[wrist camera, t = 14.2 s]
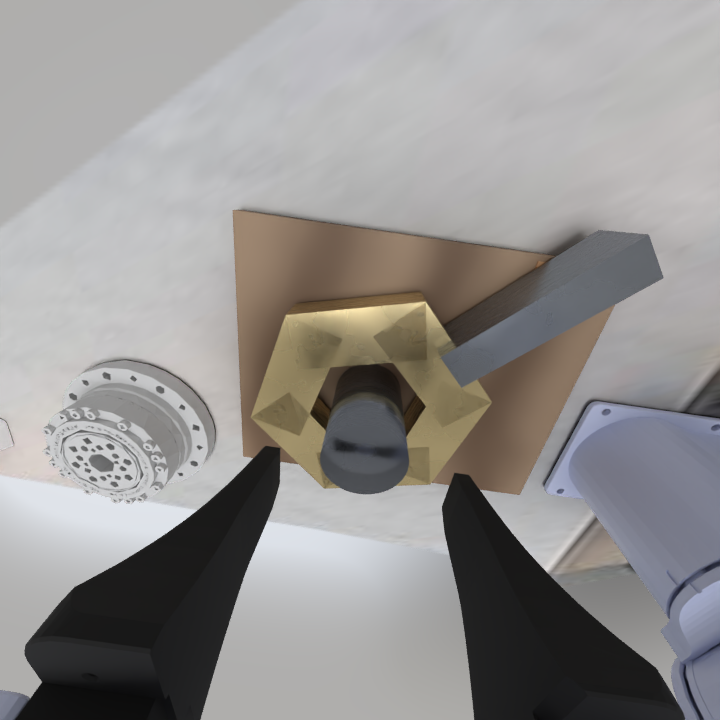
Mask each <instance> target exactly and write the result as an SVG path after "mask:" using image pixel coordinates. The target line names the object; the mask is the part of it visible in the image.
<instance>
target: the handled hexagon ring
mask: <svg viewBox="0 0 720 720" xmlns="http://www.w3.org/2000/svg"><path fill="white" fill-rule="evenodd" d="M661 279H663V275H662V272H661V269H660V266H659V263H658V260H657V257H656V254H655V252H654V249H653V246H652V243H651V240H650V237H649V235H647V234H636V233H625V232H614V231H603V230H598V231H596V232H595V233H593V234H592V235H590V236H588V237H587V238H585V239H584V240H582V241H580V242H579V243H577V244H575V245H574V246H572V247H571V248H569V249H567V250H566V251H564V252H563V253H561V254H559V255H558V256H556V257H555V258H553V259H551V260H550V261H548V262H547V263H545V264H543V265H542V266H540V267H538V268H537V269H535V270H534V271H532V272H530V273H529V274H527V275H526V276H524V277H522V278H521V279H519V280H518V281H516V282H514V283H513V284H511V285H509V286H508V287H506V288H505V289H503V290H501V291H500V292H498V293H497V294H495V295H493V296H492V297H490V298H489V299H487V300H485V301H484V302H482V303H481V304H479V305H477V306H476V307H474V308H472V309H471V310H469V311H468V312H466V313H464V314H463V315H461V316H460V317H458V318H456V319H455V320H453V321H452V322H450V323H448V324H447V325H445V326H443V325H442V323H441V322H440V320H439V319H438V317H437V316H436V314H435V313H434V311H433V310H432V308H431V307H430V305H429V303H428V302H427V300H426V299H425V297H424V296H423V294H422V293H421V292H411V293H401V294H391V295H381V296H370V297H360V298H350V299H340V300H330V301H319V302H309V303H299V304H295V305H294V306H293V307H292V308H291V310H290V311H289V312H288V313H287V314H286V315H285V318H284V321H283V324H282V327H281V330H280V333H279V336H278V339H277V342H276V345H275V348H274V351H273V354H272V356H271V359H270V362H269V365H268V368H267V371H266V374H265V377H264V380H263V383H262V386H261V389H260V392H259V394H258V397H257V400H256V403H255V406H254V409H253V412H252V415H251V418H252V419H253V420H254V421H255V422H256V423H257V424H258V425H259V426H260V427H261V428H262V429H263V430H264V431H265V432H266V433H267V434H268V435H269V436H270V437H271V438H272V439H273V440H274V441H275V442H277V443H278V444H279V445H280V446H281V447H282V448H283V449H284V450H285V451H286V452H287V453H288V454H289V455H290V456H291V457H292V458H293V459H294V460H295V461H296V462H297V463H298V464H299V465H300V466H301V467H302V468H303V469H305V470H306V471H307V472H308V473H309V474H310V475H311V476H312V477H313V478H314V479H315V480H316V481H317V482H318V483H319V484H320V485H321V486H322V487H323V488H340V487H338V486H336V485H335V484H334V483H332V482H331V481H330V480H329V479H328V478H327V477H326V475H325V474H324V472H323V470H322V468H321V464H320V454H321V450H322V445H323V441H324V437H325V432H326V428H327V424H328V420H329V415H330V410H329V409H328V407H327V406H326V405H325V404H324V403H323V402H322V401H321V400H320V399H319V398H318V394H319V392H320V389H321V387H322V385H323V383H324V380H325V378H326V376H327V374H328V371H329V369H330V367H342V366H355V365H368V364H381V363H393V364H394V365H395V366H396V368H397V369H398V370H399V371H400V373H401V374H402V375H403V377H404V378H405V379H406V381H407V382H408V383H409V385H410V386H411V387H412V389H413V390H414V391H415V393H416V394H417V396H416V397H415V399H414V401H413V402H412V404H411V406H410V407H409V409H408V410H407V412H406V414H405V415H404V422H405V430H406V438H407V446H408V454H409V468H408V471H407V473H406V475H405V477H404V478H403V479H402V480H401V482H399V483H398V484H397V485H396V486H402V485H428V484H431V483H432V481H433V480H434V479H435V477H436V476H437V475H438V473H439V472H440V471H441V469H442V468H443V467H444V465H445V464H446V463H447V461H448V460H449V459H450V457H451V456H452V455H453V453H454V452H455V451H456V450H457V448H458V447H459V446H460V444H461V443H462V442H463V440H464V439H465V438H466V436H467V435H468V434H469V432H470V431H471V430H472V428H473V427H474V426H475V424H476V423H477V422H478V420H479V419H480V418H481V416H482V415H483V414H484V413H485V411H486V410H487V409H488V407H489V406H490V405H491V403H492V401H491V400H490V398H489V396H488V394H487V393H486V391H485V389H484V388H483V386H482V384H481V383H480V381H479V380H478V379H479V378H481V377H483V376H484V375H486V374H488V373H490V372H492V371H494V370H495V369H497V368H499V367H501V366H503V365H505V364H507V363H508V362H510V361H512V360H514V359H516V358H518V357H519V356H521V355H523V354H525V353H527V352H529V351H530V350H532V349H534V348H536V347H538V346H540V345H541V344H543V343H545V342H547V341H549V340H551V339H552V338H554V337H556V336H558V335H560V334H562V333H563V332H565V331H567V330H569V329H571V328H573V327H574V326H576V325H578V324H580V323H582V322H584V321H585V320H587V319H589V318H591V317H593V316H595V315H596V314H598V313H600V312H602V311H604V310H606V309H607V308H609V307H611V306H613V305H615V304H617V303H619V302H620V301H622V300H624V299H626V298H628V297H630V296H631V295H633V294H635V293H637V292H639V291H641V290H642V289H644V288H646V287H648V286H650V285H652V284H653V283H655V282H657V281H659V280H661Z"/></svg>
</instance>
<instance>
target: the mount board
mask: <svg viewBox="0 0 720 720" xmlns="http://www.w3.org/2000/svg"><path fill="white" fill-rule="evenodd" d="M233 227H234V250H235V274H236V297H237V320H238V344H239V367H240V390H241V414H242V437H243V456H244V457H251V458H254V457H255V456H256V455H257V454H258V453H259V452H260V450H261V449H262V448H263V447H265V446H271V447H278V448H280V462H287V463H294V464H298V463H297V462H296V461H295V460H294V459H293V458H292V457H291V456H290V455H289V454H288V453H287V452H286V451H285V450H284V449H283V448H282V447H281V446H280V445H279V444H278V443H277V442H275V441H274V440H273V439H272V438H271V437H270V436H269V435H268V434H267V433H266V432H265V431H264V430H263V429H262V428H261V427H260V426H259V425H258V424H257V423H256V422H255V421H254V420H253V419H252V418H251V415H252V412H253V409H254V406H255V403H256V400H257V397H258V394H259V392H260V389H261V386H262V383H263V380H264V377H265V374H266V371H267V368H268V365H269V362H270V359H271V356H272V354H273V351H274V348H275V345H276V342H277V339H278V336H279V333H280V330H281V327H282V324H283V321H284V318H285V315H286V314H287V313H288V312H289V311H290V310H291V308H292V307H293V306H294V305H295V304H299V303H309V302H319V301H330V300H340V299H350V298H360V297H370V296H381V295H391V294H401V293H411V292H421V293H422V294H423V296H424V297H425V299H426V300H427V302H428V303H429V305H430V307H431V308H432V310H433V311H434V313H435V314H436V316H437V317H438V319H439V320H440V322H441V323H442V325H443V326H445V325H447V324H448V323H450V322H452V321H453V320H455V319H456V318H458V317H460V316H461V315H463V314H464V313H466V312H468V311H469V310H471V309H472V308H474V307H476V306H477V305H479V304H481V303H482V302H484V301H485V300H487V299H489V298H490V297H492V296H493V295H495V294H497V293H498V292H500V291H501V290H503V289H505V288H506V287H508V286H509V285H511V284H513V283H514V282H516V281H518V280H519V279H521V278H522V277H524V276H526V275H527V274H529V273H530V272H532V271H534V270H535V269H537V268H538V267H540V266H542V265H543V264H545V263H547V262H548V261H550V260H551V259H553V258H555V257H556V256H553V255H546V254H539V253H532V252H526V251H519V250H512V249H505V248H498V247H491V246H484V245H478V244H471V243H464V242H457V241H450V240H443V239H436V238H430V237H423V236H416V235H409V234H402V233H395V232H388V231H382V230H375V229H368V228H361V227H354V226H347V225H341V224H334V223H327V222H320V221H313V220H306V219H299V218H293V217H286V216H279V215H272V214H265V213H258V212H251V211H245V210H233ZM614 306H615V305H613V306H611V307H609V308H607V309H606V310H604V311H602V312H600V313H598V314H596V315H595V316H593V317H591V318H589V319H587V320H585V321H584V322H582V323H580V324H578V325H576V326H574V327H573V328H571V329H569V330H567V331H565V332H563V333H562V334H560V335H558V336H556V337H554V338H552V339H551V340H549V341H547V342H545V343H543V344H541V345H540V346H538V347H536V348H534V349H532V350H530V351H529V352H527V353H525V354H523V355H521V356H519V357H518V358H516V359H514V360H512V361H510V362H508V363H507V364H505V365H503V366H501V367H499V368H497V369H495V370H494V371H492V372H490V373H488V374H486V375H484V376H483V377H481V378H479V379H478V380H479V381H480V383H481V384H482V386H483V388H484V389H485V391H486V393H487V394H488V396H489V398H490V400H491V401H492V403H491V405H490V406H489V407H488V409H487V410H486V411H485V413H484V414H483V415H482V416H481V418H480V419H479V420H478V422H477V423H476V424H475V426H474V427H473V428H472V430H471V431H470V432H469V434H468V435H467V436H466V438H465V439H464V440H463V442H462V443H461V444H460V446H459V447H458V448H457V450H456V451H455V452H454V453H453V455H452V456H451V457H450V459H449V460H448V461H447V463H446V464H445V465H444V467H443V468H442V469H441V471H440V472H439V473H438V475H437V476H436V477H435V479H434V480H433V481H432V483H438V484H445V485H450V483H451V480H452V478H453V475H454V473H460V474H467V475H469V476H470V477H471V478H472V480H473V481H474V482H475V484H476V485H477V487H478V488H479V489H481V490H488V491H495V492H502V493H509V494H517V495H520V493H521V491H522V489H523V487H524V485H525V483H526V481H527V479H528V477H529V475H530V473H531V471H532V469H533V467H534V465H535V463H536V461H537V459H538V457H539V455H540V453H541V451H542V449H543V447H544V445H545V443H546V441H547V439H548V437H549V435H550V433H551V431H552V429H553V427H554V425H555V423H556V421H557V419H558V417H559V415H560V413H561V411H562V409H563V407H564V405H565V403H566V401H567V399H568V397H569V395H570V393H571V391H572V389H573V387H574V385H575V383H576V381H577V379H578V377H579V375H580V373H581V371H582V369H583V367H584V365H585V363H586V361H587V359H588V358H589V356H590V354H591V352H592V350H593V348H594V346H595V344H596V342H597V340H598V338H599V336H600V334H601V332H602V330H603V328H604V326H605V324H606V322H607V320H608V318H609V316H610V314H611V312H612V310H613V308H614ZM378 365H381V366H383V367H385V368H387V369H388V370H390V371H391V372H392V373H393V374H394V375H395V376H396V378H397V380H398V382H399V385H400V390H401V398H402V406H403V414H404V415H405V414H406V412H407V410H408V409H409V407H410V406H411V404H412V402H413V401H414V399H415V397H416V396H417V394H416V393H415V391H414V390H413V389H412V387H411V386H410V385H409V383H408V382H407V381H406V379H405V378H404V377H403V375H402V374H401V373H400V371H399V370H398V369H397V368H396V366H395V365H394V364H393V363H381V364H378ZM350 367H352V366H342V367H330V369H329V371H328V374H327V376H326V378H325V380H324V383H323V385H322V387H321V389H320V392H319V394H318V398H319V399H320V400H321V401H322V402H323V403H324V404H325V405H326V406H327V407H328V409H329V410H330V411H331V407H332V403H333V398H334V394H335V390H336V386H337V382H338V380H339V378H340V376H341V375H342V374H343V373H344V372H345V371H346V370H347V369H349V368H350Z"/></svg>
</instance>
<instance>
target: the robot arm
mask: <svg viewBox="0 0 720 720" xmlns="http://www.w3.org/2000/svg"><path fill="white" fill-rule="evenodd" d="M605 409H606V410H605ZM603 410H605V411H603ZM602 411H603V412H602ZM279 484H280V448H278V447H271V446H265V447H263V448H262V449H261V450H260V452H259V453H258V454H257V455H256V456H255V457H254V458H253V459H252V460H251V461H250V463H249V464H248V465H247V466H246V467H245V468H244V469H243V470H242V471H241V472H240V473H239V474H238V475H237V476H236V477H235V478H234V479H233V480H232V481H231V482H230V483H229V484H227V485H226V486H225V487H224V488H223V489H222V490H221V491H220V492H219V493H217V494H216V495H215V496H214V497H213V498H212V499H211V500H210V501H208V502H207V503H206V504H205V505H204V506H202V507H201V508H200V509H199V510H197V511H196V512H195V513H194V514H192V515H191V516H190V517H189V518H187V519H186V520H185V521H183V522H182V523H180V524H179V525H178V526H176V527H175V528H173V529H172V530H171V531H169V532H168V533H167V534H165V535H163V536H162V537H161V538H159V539H157V540H156V541H154V542H153V543H151V544H150V545H148V546H146V547H145V548H143V549H142V550H140V551H139V552H137V553H135V554H134V555H132V556H130V557H129V558H127V559H125V560H124V561H122V562H120V563H119V564H117V565H115V566H113V567H112V568H110V569H108V570H106V571H104V572H102V573H100V574H98V575H97V576H95V577H93V578H91V579H89V580H87V581H86V582H84V583H82V584H80V585H78V586H76V587H74V588H73V590H71V592H70V593H69V594H68V595H67V596H66V597H65V598H64V599H63V600H62V601H61V602H60V603H59V605H58V606H57V607H56V608H55V609H54V610H53V612H52V613H51V614H50V615H49V617H48V618H47V619H46V620H45V622H44V623H43V624H42V625H41V626H40V628H39V629H38V630H37V632H36V633H35V634H34V635H33V636H32V638H31V639H30V640H29V641H28V642H27V644H26V646H25V656H26V659H27V661H28V662H29V664H30V665H31V667H32V668H33V669H34V671H35V672H36V674H37V675H38V677H39V678H40V679H41V681H42V683H41V685H40V686H39V687H38V689H37V690H36V692H35V693H34V694H33V696H32V697H31V698H29V697H28V696H25V695H23V694H20V693H16V692H10V691H3V690H0V720H200V719H201V715H202V712H203V708H204V705H205V701H206V698H207V694H208V691H209V688H210V684H211V681H212V677H213V674H214V670H215V667H216V663H217V660H218V657H219V654H220V650H221V647H222V644H223V640H224V637H225V634H226V631H227V628H228V625H229V621H230V618H231V615H232V612H233V609H234V605H235V602H236V599H237V596H238V593H239V590H240V587H241V584H242V581H243V578H244V575H245V572H246V570H247V567H248V565H249V562H250V560H251V557H252V555H253V553H254V551H255V548H256V546H257V543H258V541H259V539H260V536H261V534H262V532H263V529H264V527H265V525H266V522H267V520H268V517H269V515H270V513H271V510H272V507H273V504H274V501H275V498H276V494H277V491H278V488H279ZM544 489H545V491H546V492H547V493H548V494H550V495H557V496H565V497H572V498H579V499H584V500H585V501H586V503H587V504H588V505H589V507H590V508H591V510H592V511H593V513H594V514H595V515H596V517H597V518H598V520H599V521H600V522H601V524H602V525H603V527H604V528H605V529H606V531H607V532H608V534H609V535H610V537H611V538H612V539H613V541H614V542H615V544H616V545H617V546H618V548H619V549H620V551H621V552H622V553H623V555H624V556H625V558H626V559H627V560H628V562H629V563H630V565H631V566H632V568H633V569H634V570H635V572H636V573H637V575H638V576H639V577H640V579H641V580H642V582H643V583H644V584H645V586H646V587H647V588H648V590H649V591H650V593H651V594H652V595H653V597H654V599H655V600H656V601H657V603H658V604H659V605H660V607H661V608H662V610H663V611H664V613H665V614H666V615H667V617H668V618H669V619H670V620H669V622H668V623H667V625H666V626H665V627H664V628H662V629H661V633H662V634H663V636H664V637H665V639H666V640H667V642H668V643H669V645H670V646H671V647H672V649H673V651H674V652H675V653H676V655H677V656H678V658H676V659H675V661H674V663H673V665H672V672H671V678H672V684H673V689H674V692H675V695H676V698H677V701H676V699H675V698H674V696H673V694H672V693H671V691H670V690H669V688H668V686H667V685H666V683H665V681H664V680H663V678H662V676H661V675H660V673H659V672H658V670H657V669H656V668H655V667H654V666H653V665H651V664H650V663H649V662H648V661H647V660H645V659H644V658H643V657H641V656H640V655H639V654H638V653H636V652H635V651H634V650H632V649H631V648H630V647H629V646H627V645H626V644H625V643H624V642H622V641H621V640H620V639H619V638H617V637H616V636H615V635H614V634H612V633H611V632H610V631H609V630H608V629H607V628H606V627H604V626H603V625H602V624H601V623H600V622H599V621H598V620H596V619H595V618H594V617H593V616H592V615H590V614H589V613H588V612H587V611H586V610H585V609H584V608H583V607H582V606H581V605H579V604H578V603H577V602H576V601H575V600H574V599H573V598H572V597H571V596H570V595H569V594H568V593H567V592H566V591H565V590H564V589H563V588H562V587H561V586H560V585H559V584H558V583H557V582H556V581H555V580H554V579H553V578H552V577H551V576H550V575H549V574H548V573H547V572H546V571H545V570H544V569H543V568H542V567H541V566H540V565H539V564H538V563H537V562H536V560H535V559H534V558H533V557H532V556H531V555H530V554H529V553H528V552H527V550H526V549H525V548H524V547H523V546H522V545H521V543H520V542H519V541H518V540H517V539H516V537H515V536H514V535H513V534H512V533H511V531H510V530H509V529H508V527H507V526H506V525H505V524H504V522H503V521H502V520H501V518H500V517H499V516H498V514H497V513H496V512H495V510H494V509H493V508H492V506H491V505H490V504H489V502H488V501H487V499H486V498H485V497H484V495H483V494H482V492H481V491H480V490H479V488H478V487H477V485H476V484H475V482H474V481H473V480H472V478H471V477H470V476H469V475H467V474H460V473H454V475H453V478H452V480H451V483H450V486H449V489H448V492H447V494H446V497H445V500H444V503H443V506H442V512H443V522H444V531H445V536H446V541H447V545H448V550H449V554H450V559H451V563H452V567H453V572H454V576H455V581H456V585H457V589H458V593H459V599H460V604H461V610H462V617H463V624H464V631H465V638H466V646H467V655H468V663H469V671H470V681H471V690H472V700H473V710H474V720H720V419H719V418H712V417H705V416H698V415H691V414H684V413H677V412H670V411H663V410H655V409H648V408H641V407H634V406H627V405H620V404H613V403H606V402H599V401H595V402H592V403H591V404H589V405H588V406H587V408H586V410H585V412H584V414H583V416H582V417H581V419H580V421H579V423H578V425H577V427H576V428H575V430H574V432H573V434H572V436H571V438H570V439H569V441H568V443H567V445H566V447H565V449H564V451H563V452H562V454H561V456H560V458H559V460H558V462H557V463H556V465H555V467H554V469H553V471H552V473H551V475H550V476H549V478H548V480H547V482H546V484H545V486H544ZM677 702H678V703H677Z"/></svg>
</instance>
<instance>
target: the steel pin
mask: <svg viewBox="0 0 720 720" xmlns="http://www.w3.org/2000/svg"><path fill="white" fill-rule="evenodd" d="M320 464H321V468H322V470H323V472H324V474H325V475H326V477H327V478H328V479H329V480H330V481H331V482H332V483H334V484H335V485H336V486H338V487H340V488H342V489H344V490H346V491H349V492H353V493H358V494H375V493H380V492H384V491H386V490H389V489H391V488H393V487H394V486H396V485H397V484H398V483H399V482H401V480H402V479H403V478H404V477H405V475H406V473H407V471H408V468H409V454H408V446H407V438H406V430H405V422H404V414H403V406H402V398H401V390H400V385H399V382H398V380H397V378H396V376H395V375H394V374H393V373H392V372H391V371H390V370H388V369H387V368H385V367H383V366H381V365H378V364H368V365H355V366H352V367H350V368H349V369H347V370H346V371H345V372H344V373H343V374H342V375H341V376H340V378H339V380H338V382H337V386H336V390H335V394H334V398H333V403H332V407H331V411H330V415H329V420H328V424H327V428H326V432H325V437H324V441H323V445H322V450H321V454H320Z"/></svg>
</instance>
